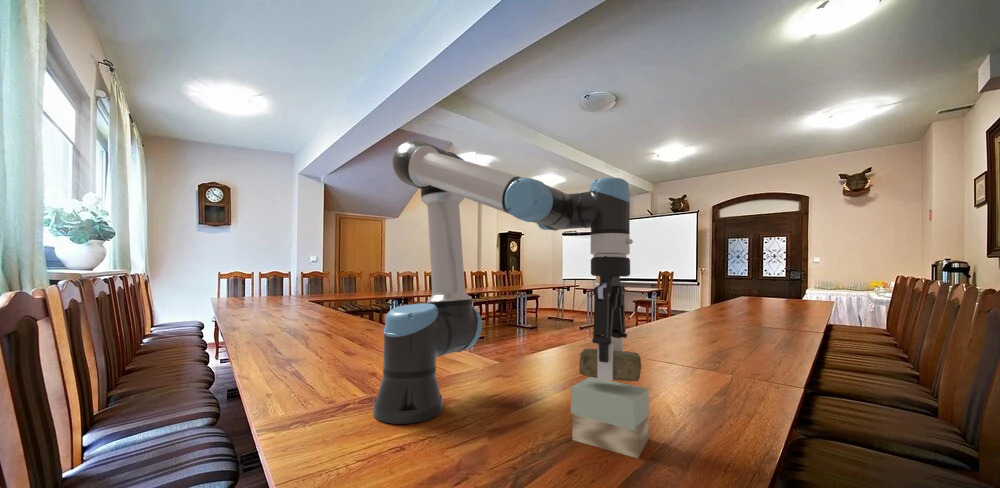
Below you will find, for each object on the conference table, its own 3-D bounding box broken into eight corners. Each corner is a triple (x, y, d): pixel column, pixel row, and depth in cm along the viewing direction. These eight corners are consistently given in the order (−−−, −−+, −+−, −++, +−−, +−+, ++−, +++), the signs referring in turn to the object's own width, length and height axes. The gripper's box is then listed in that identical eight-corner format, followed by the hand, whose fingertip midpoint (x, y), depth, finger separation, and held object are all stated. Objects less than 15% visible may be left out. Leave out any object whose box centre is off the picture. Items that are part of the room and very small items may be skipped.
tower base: (572, 441, 70) (572, 414, 71) (588, 425, 78) (588, 401, 78) (638, 460, 64) (637, 430, 64) (648, 440, 71) (648, 413, 72)
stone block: (642, 384, 67) (641, 356, 68) (578, 378, 71) (578, 352, 71) (640, 375, 73) (639, 350, 73) (580, 370, 76) (580, 346, 77)
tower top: (570, 413, 71) (570, 386, 71) (590, 400, 78) (590, 376, 79) (633, 430, 64) (633, 400, 64) (648, 415, 71) (648, 388, 71)
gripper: (616, 254, 63) (617, 391, 62) (640, 258, 80) (641, 366, 78) (574, 254, 67) (574, 383, 66) (605, 258, 84) (605, 361, 82)
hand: (610, 374), depth 72 cm, fingers closed on stone block, 7 cm apart
